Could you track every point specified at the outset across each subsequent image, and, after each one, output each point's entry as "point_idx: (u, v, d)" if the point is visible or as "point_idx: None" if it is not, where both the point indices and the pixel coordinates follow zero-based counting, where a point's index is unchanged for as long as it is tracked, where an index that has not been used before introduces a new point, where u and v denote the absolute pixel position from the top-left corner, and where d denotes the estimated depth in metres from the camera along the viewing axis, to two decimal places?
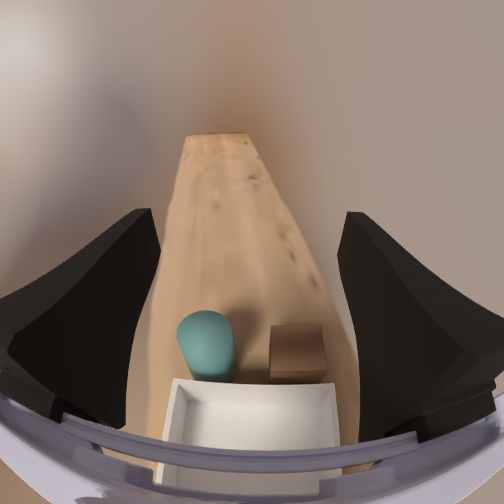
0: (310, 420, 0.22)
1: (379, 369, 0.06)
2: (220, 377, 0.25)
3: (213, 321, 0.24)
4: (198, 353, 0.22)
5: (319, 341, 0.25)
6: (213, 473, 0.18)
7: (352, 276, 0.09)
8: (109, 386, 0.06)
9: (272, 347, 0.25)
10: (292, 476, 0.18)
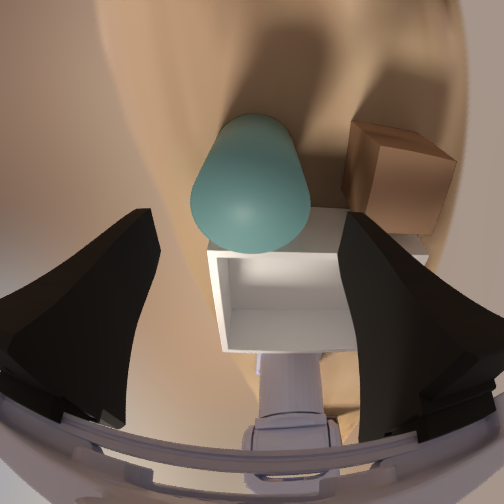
0: None
1: (379, 369, 0.06)
2: None
3: (267, 180, 0.10)
4: (247, 249, 0.13)
5: (443, 191, 0.12)
6: (268, 288, 0.24)
7: (352, 276, 0.09)
8: (109, 386, 0.06)
9: (372, 192, 0.13)
10: None
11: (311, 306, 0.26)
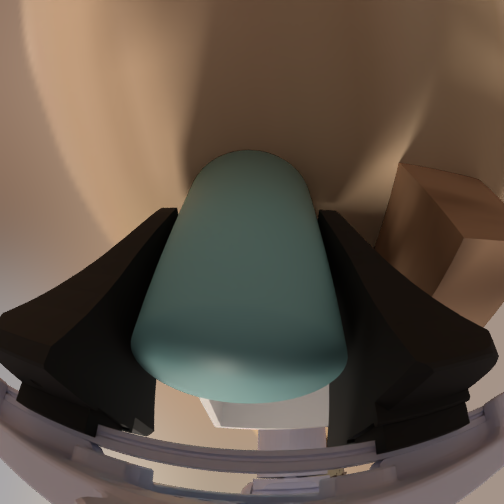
0: None
1: (343, 373, 0.06)
2: None
3: (271, 345, 0.05)
4: (235, 400, 0.07)
5: None
6: None
7: None
8: (140, 393, 0.06)
9: None
10: None
11: None
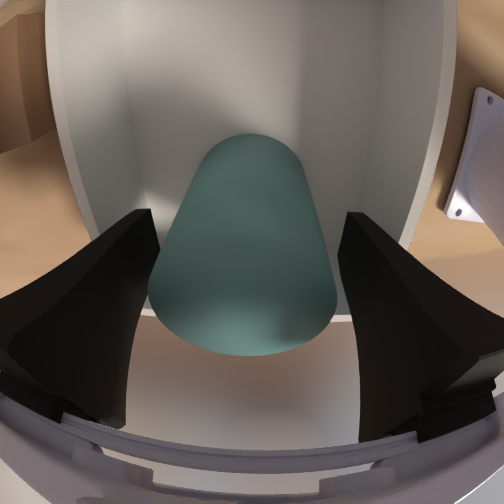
0: (160, 8, 0.07)
1: (379, 369, 0.06)
2: None
3: (266, 277, 0.06)
4: (243, 352, 0.09)
5: None
6: None
7: (352, 276, 0.09)
8: (109, 386, 0.06)
9: None
10: (312, 41, 0.08)
11: (364, 110, 0.10)
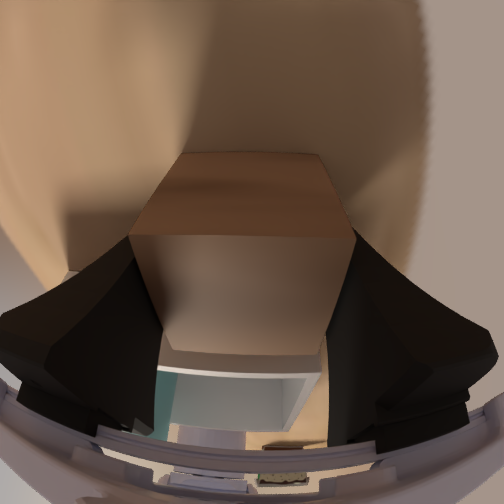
0: None
1: (343, 373, 0.06)
2: None
3: None
4: None
5: (325, 297, 0.07)
6: None
7: None
8: (140, 393, 0.06)
9: (158, 307, 0.07)
10: None
11: None
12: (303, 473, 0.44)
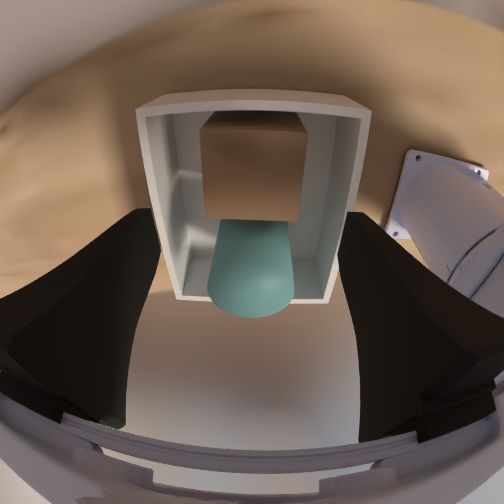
0: (197, 112, 0.16)
1: (379, 369, 0.06)
2: None
3: (262, 276, 0.15)
4: (250, 315, 0.17)
5: (296, 169, 0.13)
6: None
7: (352, 276, 0.09)
8: (109, 386, 0.06)
9: (204, 178, 0.13)
10: None
11: (322, 177, 0.18)
12: None
